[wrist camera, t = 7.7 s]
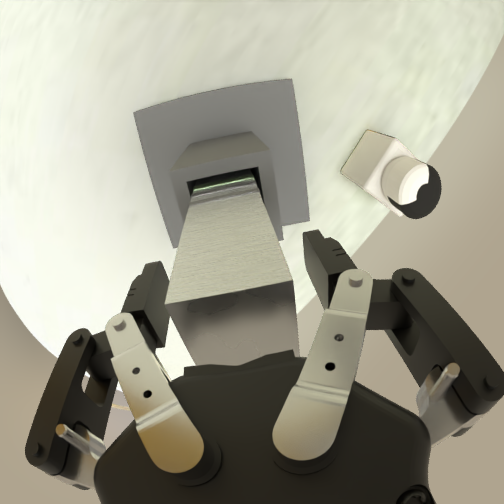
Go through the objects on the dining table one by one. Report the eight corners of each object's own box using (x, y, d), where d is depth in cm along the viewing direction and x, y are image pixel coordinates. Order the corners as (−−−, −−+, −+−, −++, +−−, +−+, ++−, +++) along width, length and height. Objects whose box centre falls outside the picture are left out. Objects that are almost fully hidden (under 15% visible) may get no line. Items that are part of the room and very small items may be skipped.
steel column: (200, 165, 24) (162, 303, 8) (245, 156, 24) (294, 278, 8) (210, 205, 26) (200, 376, 10) (252, 197, 26) (301, 358, 10)
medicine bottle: (400, 158, 33) (457, 186, 23) (375, 197, 36) (423, 237, 26) (366, 128, 31) (423, 146, 21) (338, 171, 34) (385, 206, 23)
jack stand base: (137, 111, 27) (80, 123, 15) (288, 79, 27) (336, 66, 15) (175, 242, 37) (155, 318, 24) (306, 216, 37) (348, 280, 24)
